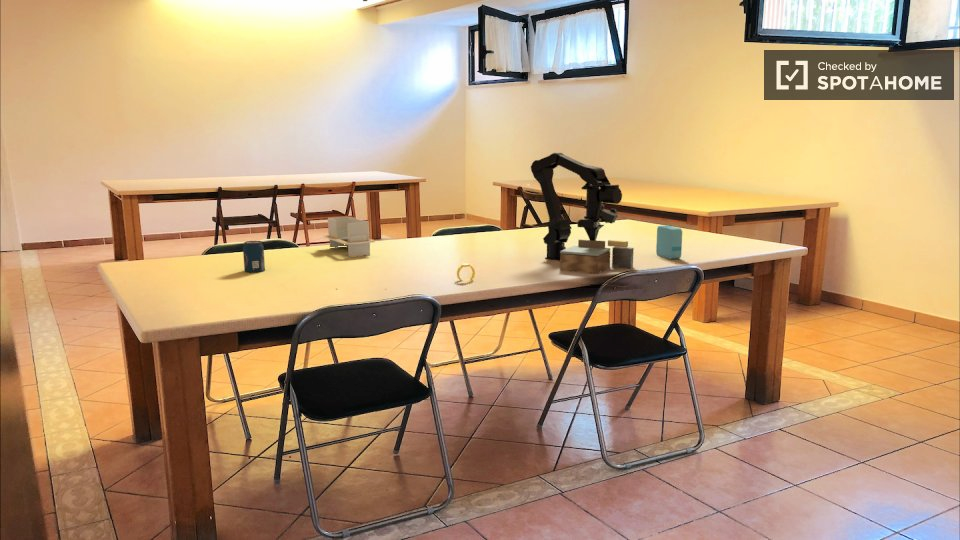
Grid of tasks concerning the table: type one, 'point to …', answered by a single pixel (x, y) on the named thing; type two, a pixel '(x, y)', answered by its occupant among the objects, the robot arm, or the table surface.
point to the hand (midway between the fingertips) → (593, 244)
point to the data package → (669, 242)
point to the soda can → (253, 257)
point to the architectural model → (350, 235)
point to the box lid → (587, 248)
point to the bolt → (617, 243)
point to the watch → (465, 266)
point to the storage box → (585, 263)
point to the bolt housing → (622, 257)
